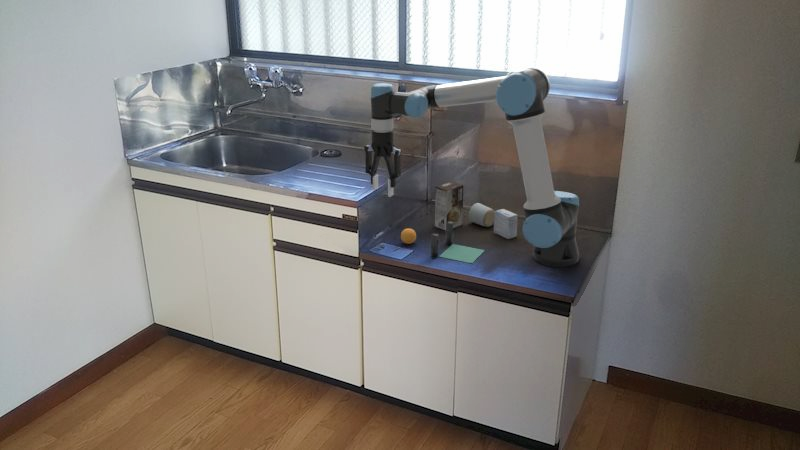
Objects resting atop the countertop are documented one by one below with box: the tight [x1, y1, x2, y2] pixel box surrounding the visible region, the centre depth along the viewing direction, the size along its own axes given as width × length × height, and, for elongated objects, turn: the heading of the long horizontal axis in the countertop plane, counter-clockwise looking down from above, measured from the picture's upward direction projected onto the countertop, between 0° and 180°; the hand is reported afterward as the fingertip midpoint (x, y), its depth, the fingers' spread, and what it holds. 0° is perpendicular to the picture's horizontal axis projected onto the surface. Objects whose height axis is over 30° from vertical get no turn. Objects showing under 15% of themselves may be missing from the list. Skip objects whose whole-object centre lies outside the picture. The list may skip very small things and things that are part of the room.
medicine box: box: [493, 208, 519, 240], centre depth 248 cm, size 8×4×9 cm, turn 34°
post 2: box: [445, 221, 454, 246], centre depth 240 cm, size 3×3×8 cm
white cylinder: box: [468, 202, 496, 228], centre depth 259 cm, size 11×8×8 cm
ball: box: [400, 228, 417, 245], centre depth 241 cm, size 6×6×6 cm
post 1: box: [430, 232, 440, 259], centre depth 230 cm, size 3×3×8 cm
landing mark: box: [438, 243, 486, 264], centre depth 233 cm, size 12×12×1 cm
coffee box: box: [434, 180, 464, 231], centre depth 255 cm, size 9×6×16 cm
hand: (383, 194), depth 240 cm, fingers open, 5 cm apart
